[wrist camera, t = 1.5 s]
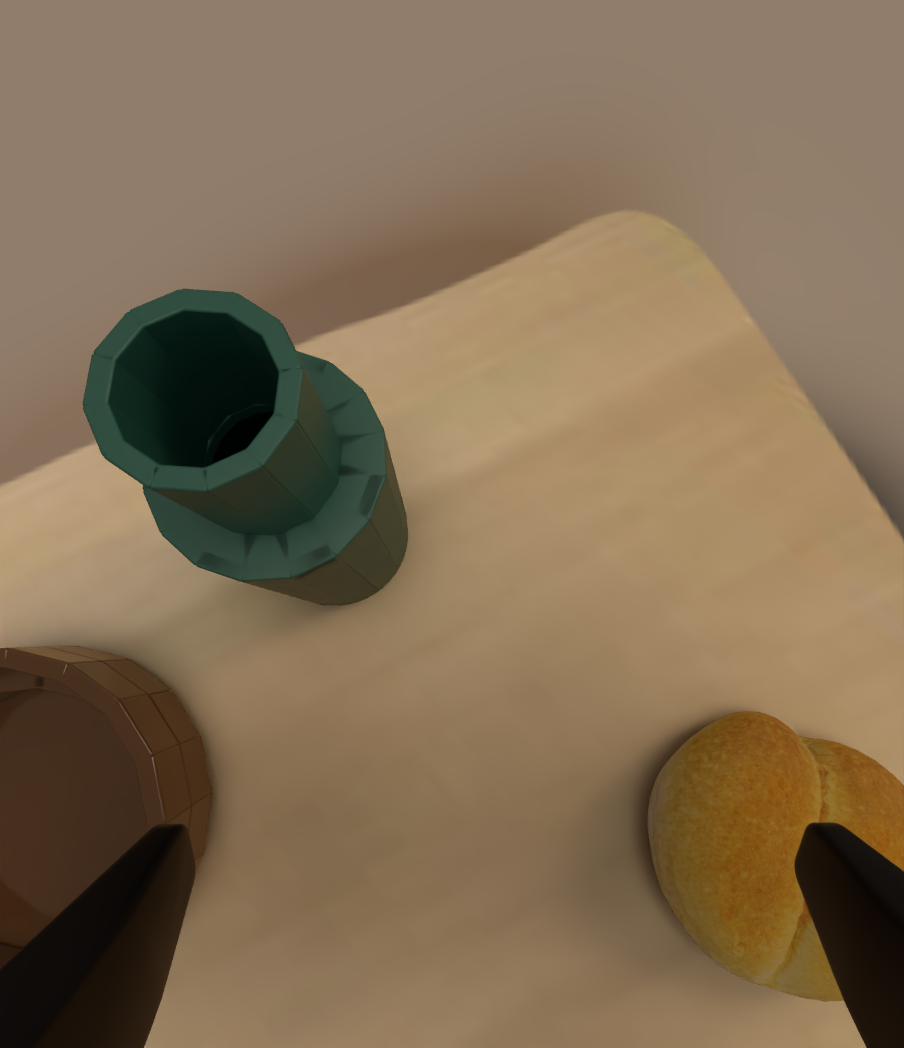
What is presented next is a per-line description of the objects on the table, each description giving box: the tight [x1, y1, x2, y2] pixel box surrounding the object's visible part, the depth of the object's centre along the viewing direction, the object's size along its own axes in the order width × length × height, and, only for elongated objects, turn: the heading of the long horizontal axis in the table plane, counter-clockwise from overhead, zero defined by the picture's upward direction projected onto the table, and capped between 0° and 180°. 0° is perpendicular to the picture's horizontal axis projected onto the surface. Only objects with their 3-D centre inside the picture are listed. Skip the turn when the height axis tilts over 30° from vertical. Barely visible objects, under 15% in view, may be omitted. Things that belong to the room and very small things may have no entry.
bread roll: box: [647, 712, 904, 1002], centre depth 20 cm, size 8×9×4 cm
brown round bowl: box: [0, 646, 212, 969], centre depth 19 cm, size 11×11×4 cm
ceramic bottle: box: [83, 289, 408, 605], centre depth 16 cm, size 5×5×14 cm
